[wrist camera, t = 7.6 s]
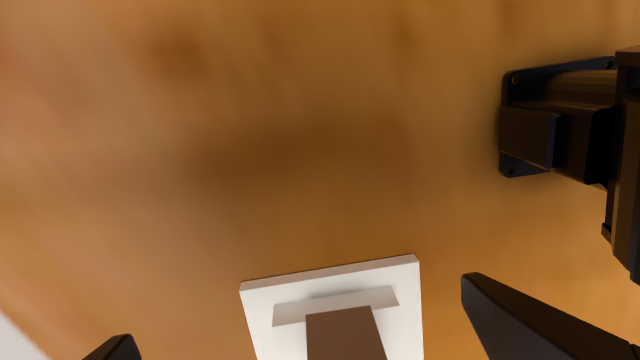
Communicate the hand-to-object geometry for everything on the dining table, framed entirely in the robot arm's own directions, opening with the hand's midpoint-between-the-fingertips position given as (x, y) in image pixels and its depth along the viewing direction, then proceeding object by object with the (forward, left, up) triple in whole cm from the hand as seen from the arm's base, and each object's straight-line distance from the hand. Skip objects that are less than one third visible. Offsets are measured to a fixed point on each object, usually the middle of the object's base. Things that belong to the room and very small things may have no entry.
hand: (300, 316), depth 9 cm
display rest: (-1, +14, -12) cm, 18 cm away
